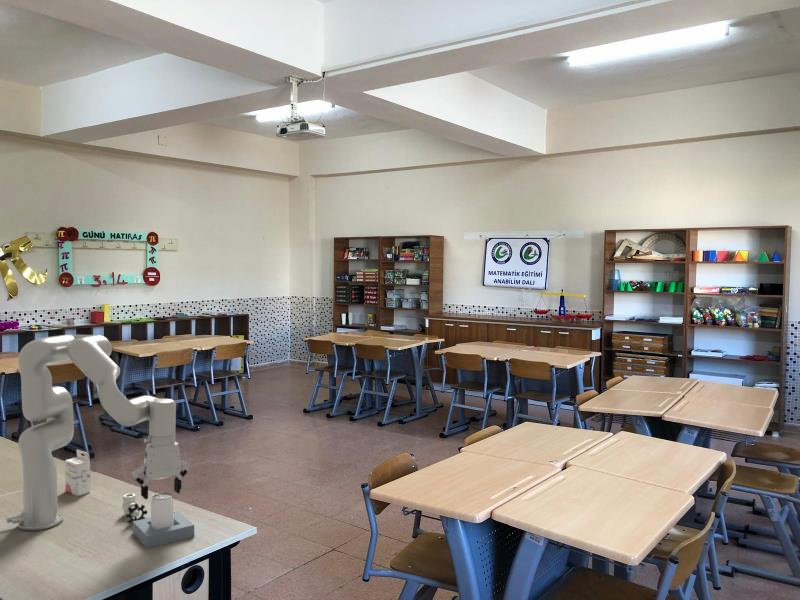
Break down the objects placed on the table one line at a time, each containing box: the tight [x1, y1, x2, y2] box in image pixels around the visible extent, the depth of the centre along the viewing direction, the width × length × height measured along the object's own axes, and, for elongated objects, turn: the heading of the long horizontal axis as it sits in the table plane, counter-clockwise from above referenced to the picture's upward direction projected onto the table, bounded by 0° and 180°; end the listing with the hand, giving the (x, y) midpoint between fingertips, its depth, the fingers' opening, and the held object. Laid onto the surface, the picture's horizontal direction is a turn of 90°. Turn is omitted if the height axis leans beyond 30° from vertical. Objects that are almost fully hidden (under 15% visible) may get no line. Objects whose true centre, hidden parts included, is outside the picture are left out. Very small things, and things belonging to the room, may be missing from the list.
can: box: [150, 492, 174, 530], centre depth 200 cm, size 6×6×12 cm
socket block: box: [132, 510, 195, 549], centre depth 200 cm, size 14×14×4 cm
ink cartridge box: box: [64, 449, 91, 497], centre depth 236 cm, size 9×5×15 cm, turn 57°
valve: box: [122, 493, 148, 524], centre depth 212 cm, size 7×7×12 cm
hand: (161, 494), depth 200 cm, fingers open, 9 cm apart
